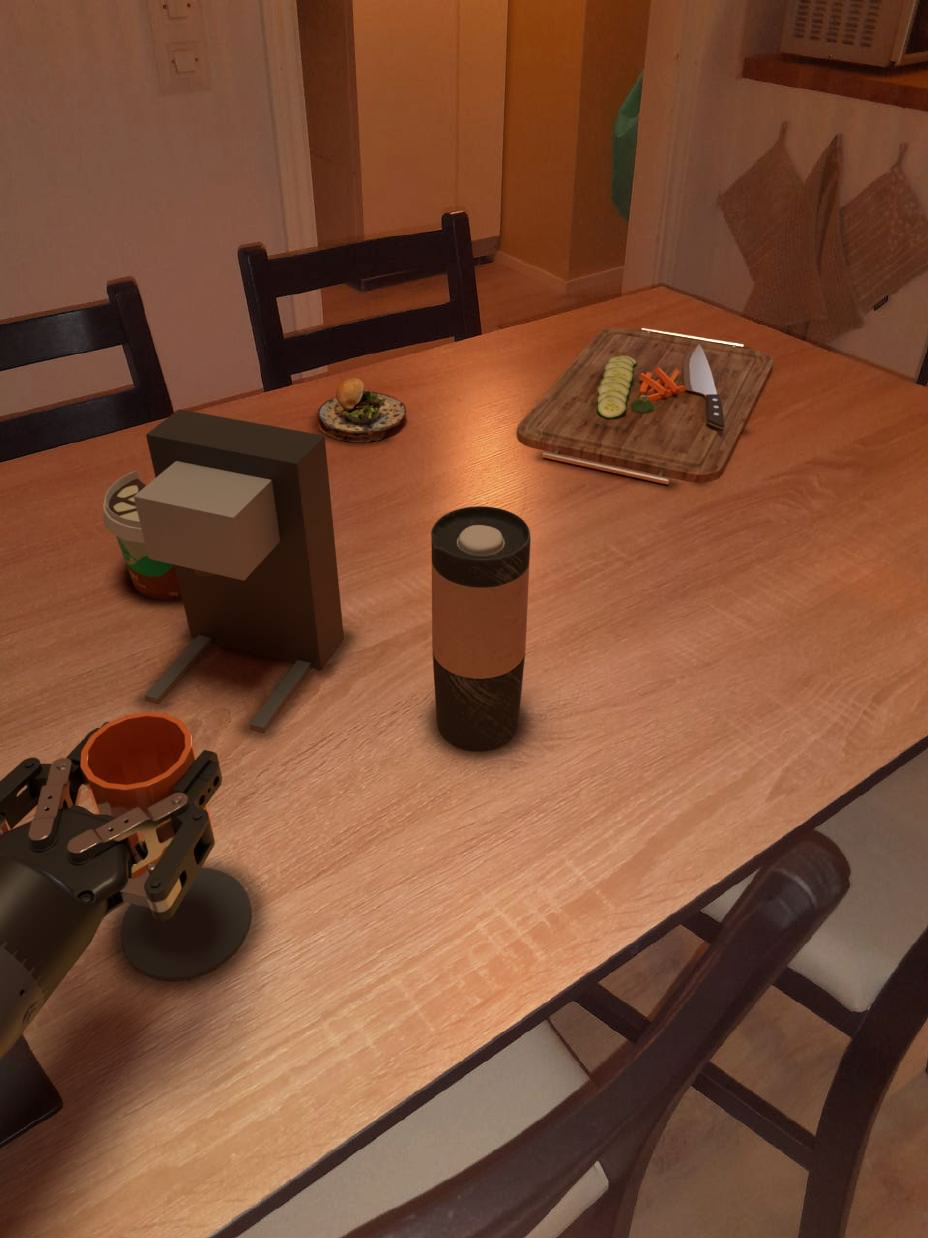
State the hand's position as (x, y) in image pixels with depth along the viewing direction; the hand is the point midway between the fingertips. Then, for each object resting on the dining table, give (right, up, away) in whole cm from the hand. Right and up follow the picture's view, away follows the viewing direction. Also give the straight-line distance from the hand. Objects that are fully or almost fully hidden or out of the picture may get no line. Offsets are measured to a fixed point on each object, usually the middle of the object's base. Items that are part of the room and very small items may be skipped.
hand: (163, 746), depth 61 cm
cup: (-1, -7, +3) cm, 7 cm away
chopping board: (+45, +38, +74) cm, 95 cm away
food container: (-13, +11, +40) cm, 44 cm away
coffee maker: (-2, +3, +29) cm, 30 cm away
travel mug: (+20, -1, +24) cm, 31 cm away
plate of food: (+5, +34, +68) cm, 77 cm away
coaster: (-1, -14, +8) cm, 16 cm away
